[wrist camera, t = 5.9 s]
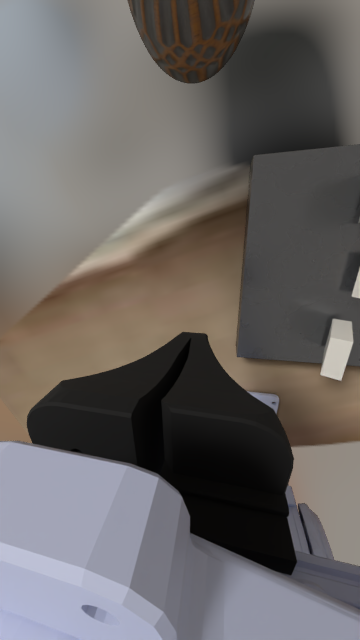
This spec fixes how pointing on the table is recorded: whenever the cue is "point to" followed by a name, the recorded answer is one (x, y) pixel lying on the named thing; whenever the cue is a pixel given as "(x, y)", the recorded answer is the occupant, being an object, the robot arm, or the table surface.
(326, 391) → the table surface
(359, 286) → the orange-white breaker switch
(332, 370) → the small grey block
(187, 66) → the vase
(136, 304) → the table surface
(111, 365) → the table surface
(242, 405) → the robot arm
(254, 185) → the panel
